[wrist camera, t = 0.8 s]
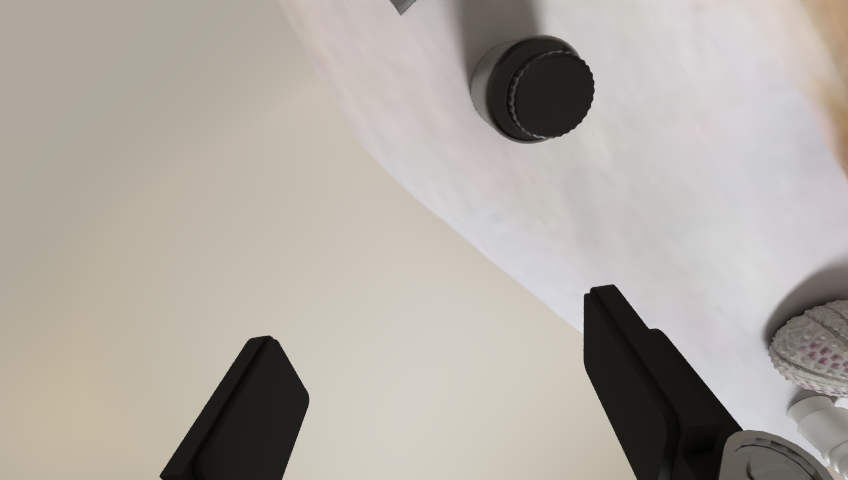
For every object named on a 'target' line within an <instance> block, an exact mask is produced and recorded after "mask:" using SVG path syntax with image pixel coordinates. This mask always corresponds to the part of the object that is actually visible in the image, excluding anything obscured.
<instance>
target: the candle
mask: <svg viewBox="0 0 848 480" xmlns="http://www.w3.org/2000/svg"><path fill="white" fill-rule="evenodd" d="M787 418H788V419H789V420H791V421H793V422H794V423H796V424H798V426H797V432H798V433H799V434H800V435H801V436H802V437H803V438H804V439H805V440H806V441H808V442H809V443H810V444H811V445H812V446H813V447H814V448H815V449H817V450H818V451H819V452H820V453H821V456H822V458H823V459H824V460H825V461H826V462H828V463H830V465H831V467H832V468H833V469H834V470H836V471H837V472H839V474H840V476H841V477H842V478H843V479H844V480H848V410H847V409H845V408H842V407H835V406H834V404H833V403H832V401H831V399H829V398H828V397H825V396H814V397H809V398H806V399H803V400H801V401H799V402H797V403H795V404H794V405H793V406H792V407H790V409H789V410H788V412H787Z"/></svg>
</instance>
